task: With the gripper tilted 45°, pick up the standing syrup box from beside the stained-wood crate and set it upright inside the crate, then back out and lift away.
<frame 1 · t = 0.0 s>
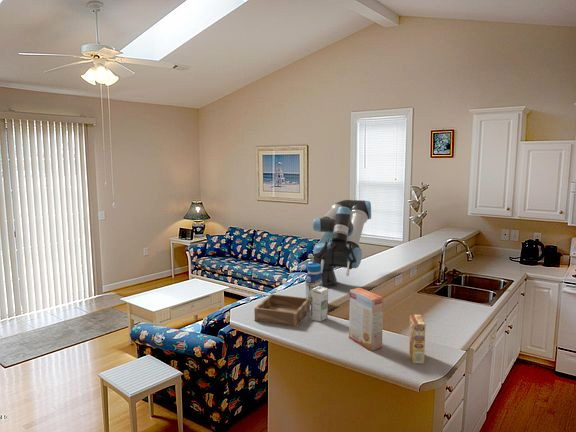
hand: (333, 273, 210), 15 cm above the worktop, tool tilted 35°, fingers open, 13 cm apart
beverage bottle: (314, 303, 213), on the worktop, touching gripper
syrup box: (319, 319, 194), on the worktop
cracker box: (365, 343, 170), on the worktop
candy box: (416, 358, 157), on the worktop
crate: (283, 315, 198), on the worktop
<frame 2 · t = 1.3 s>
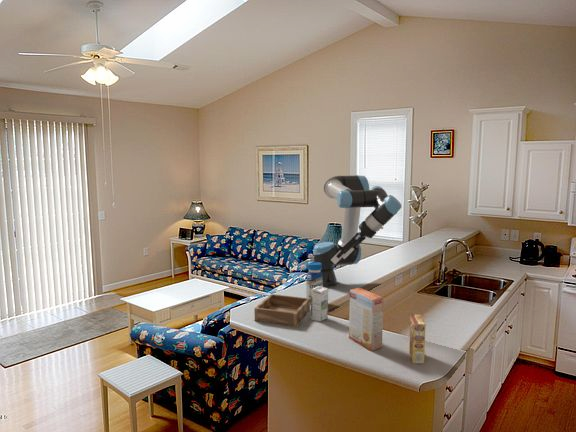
hand: (337, 259, 188), 28 cm above the worktop, tool tilted 40°, fingers open, 13 cm apart
beverage bottle: (314, 302, 213), on the worktop
everything else where it was.
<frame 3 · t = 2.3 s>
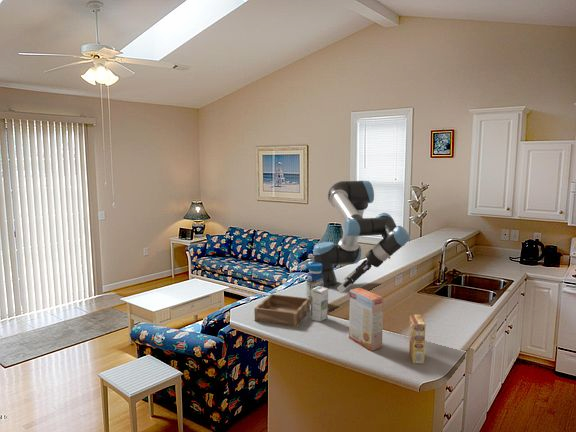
hand: (342, 285, 187), 17 cm above the worktop, tool tilted 45°, fingers open, 13 cm apart
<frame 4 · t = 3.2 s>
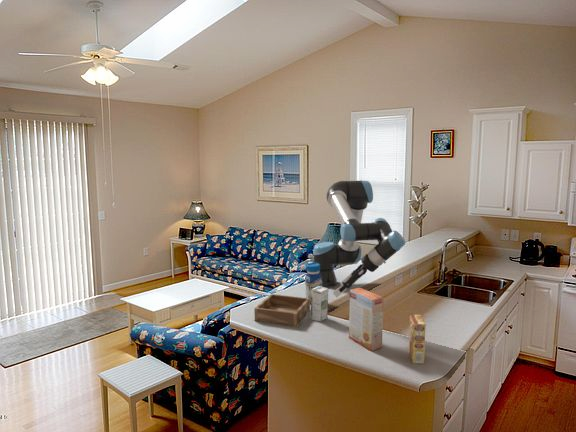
hand: (338, 290, 188), 15 cm above the worktop, tool tilted 45°, fingers open, 13 cm apart
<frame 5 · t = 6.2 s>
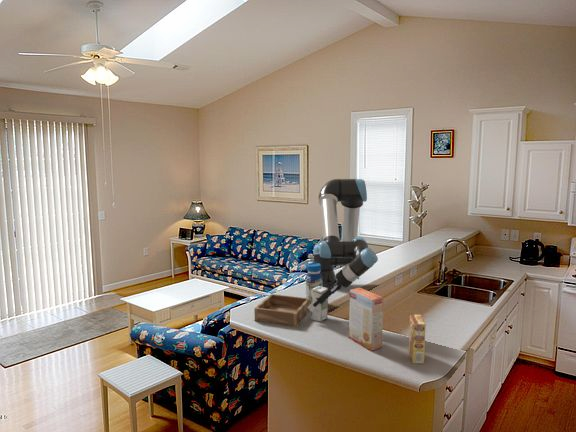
hand: (312, 306, 194), 6 cm above the worktop, tool tilted 45°, fingers closed on syrup box, 7 cm apart
syrup box: (319, 319, 194), on the worktop, touching gripper
everything else where it was.
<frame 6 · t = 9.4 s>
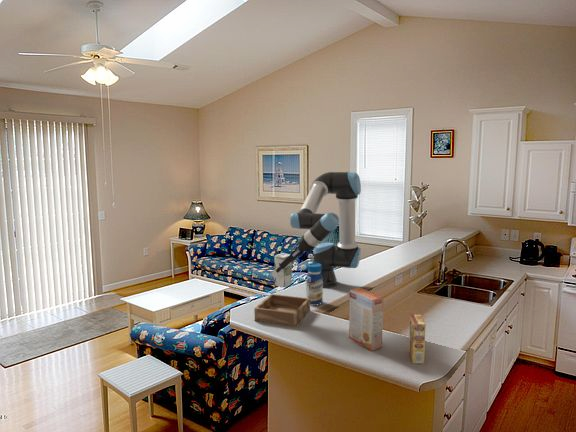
hand: (276, 273, 195), 20 cm above the worktop, tool tilted 45°, fingers closed on syrup box, 7 cm apart
syrup box: (283, 285, 195), point 15 cm above the worktop, touching gripper
when the fingers open (8 cm above the worktop, at t = 12.4 s): syrup box drops 1 cm, resting on crate.
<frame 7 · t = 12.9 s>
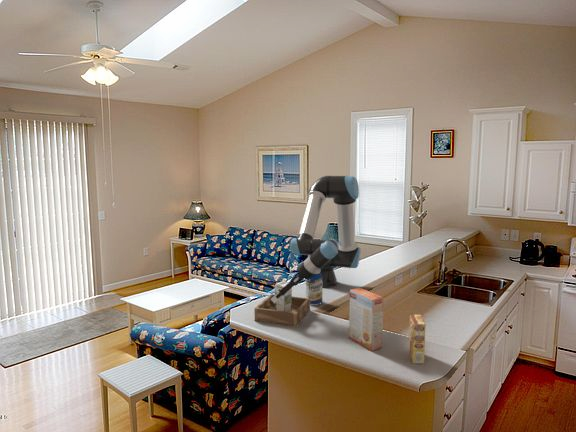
hand: (278, 296, 197), 9 cm above the worktop, tool tilted 45°, fingers open, 13 cm apart
syrup box: (283, 313, 198), point 1 cm above the worktop, touching crate
everything else where it was.
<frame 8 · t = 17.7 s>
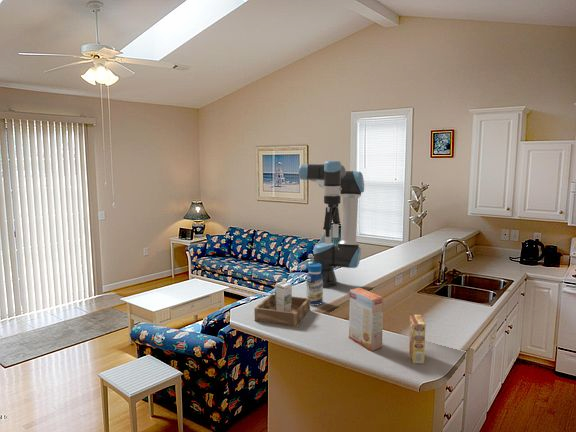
hand: (331, 240, 196), 35 cm above the worktop, tool pointing down, fingers open, 13 cm apart
nothing on the worktop moved.
at the end: syrup box inside the target area on the crate (0.2 cm from its centre), point 0.8 cm above the crate's base; syrup box tilted 0°; the gripper is holding nothing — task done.
